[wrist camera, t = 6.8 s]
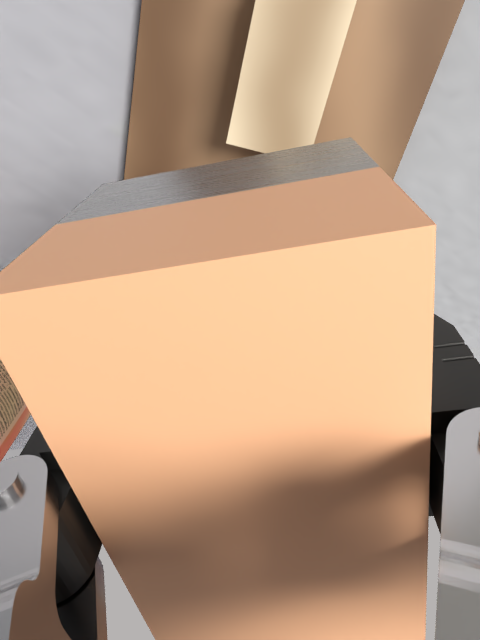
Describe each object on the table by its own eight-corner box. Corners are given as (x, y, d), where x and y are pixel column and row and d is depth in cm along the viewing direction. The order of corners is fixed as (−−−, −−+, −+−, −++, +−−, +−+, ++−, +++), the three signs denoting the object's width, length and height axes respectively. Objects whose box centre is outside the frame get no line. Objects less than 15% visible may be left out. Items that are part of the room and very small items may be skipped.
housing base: (102, 183, 9) (55, 224, 7) (350, 137, 9) (379, 167, 7) (194, 457, 13) (181, 537, 11) (370, 439, 13) (392, 520, 11)
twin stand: (112, 331, 33) (89, 373, 29) (156, -95, 21) (129, -131, 17) (310, 374, 34) (317, 421, 30) (460, -6, 22) (506, -19, 18)
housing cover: (55, 224, 7) (-32, 299, 5) (379, 167, 7) (435, 225, 4) (181, 537, 11) (162, 652, 9) (392, 520, 11) (425, 641, 8)
